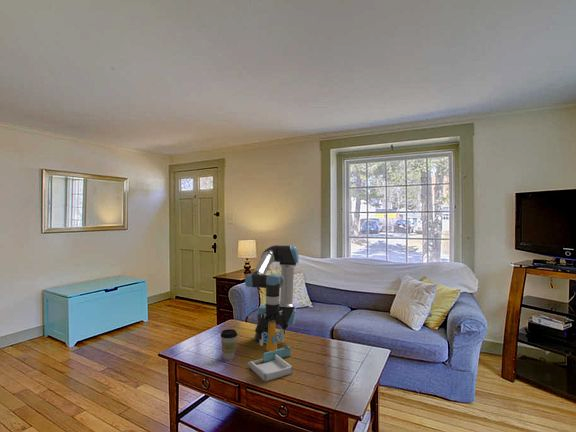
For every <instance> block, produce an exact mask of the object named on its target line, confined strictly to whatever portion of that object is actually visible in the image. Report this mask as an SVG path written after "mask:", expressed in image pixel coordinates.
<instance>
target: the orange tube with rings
mask: <svg viewBox="0 0 576 432" xmlns="http://www.w3.org/2000/svg"><path fill="white" fill-rule="evenodd" d="M276 326H277V325H276V321H270V322H269V323H268V333H266V332H263V334H266V335H264V336H263V342H264V343H263V344H266V345H265V350H266V351H267V352H269V351H275V350H277V349H278V343H281V342H283V341H282V336H281V333H280V331H276ZM265 336H267V338H266V339H265V338H264V337H265ZM276 337H277V338H276ZM280 337H281V340H280ZM264 340H267V341H264Z"/></svg>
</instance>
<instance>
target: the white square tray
mask: <svg viewBox="0 0 576 432" xmlns="http://www.w3.org/2000/svg"><path fill="white" fill-rule="evenodd" d="M262 362H263V358H260V359H256V360H250V361H249V362H246V363H247V366H249V368H250V370H252V371H253V372H254V373H255V375H257V376H258V377H259V378H260V379H261V380H262V381H263V382H265V383H266V382H270V381H272V380H275V379H276V380H277V379H279V378H283V377H286V376H290V375H292V373H293V372H294V367H293V366H292V365H291V364H290V363H289V362H287V361H285V360H284V358H280V357H279V356H278V355H275V360H272V361H268V362H263V363H262ZM293 374H294V373H293Z"/></svg>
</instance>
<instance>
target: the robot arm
mask: <svg viewBox="0 0 576 432" xmlns="http://www.w3.org/2000/svg"><path fill="white" fill-rule="evenodd" d="M299 258H300V257H299V251H298V247H297V246H295V245H277V244H276V245H272V246H270V247H268V248H266V249H264V251H262V252H261V255H260V259H259V261H258V263H257V265H256V266H255V269H254V270H253V272H252V273H248V274H246V275H245V278H244V284H245V286H246V287H247V288H259V289H260V288H262V289H265V304H262V305H259V306H258V308H257V313H256V314H257V319H256V320H257V321H256V322H257V325H256V327H255V330H254V332H255V334H254V341H255V342H257V343H258V344H259V346H261V347H263V346H264V344H265V343H264V342H263V336H264V335H266V334H263V332H266V333H268V323H269V322H270V321H276V326H280V328H279V332H280V333H281V336H282V341H281V342H284V340H285V339H284V336H285V335H286V334H285V333H286V330H287V328H288V327H293V326H294V325H295V322H296V319H297V318H296V317H297V313H298V312H297V311H298V310H297V308H296V307H295V305H294V302H293V299H294V298H293V296H294V275H295V273H294V272H295V271H294V270H295V267H296V266H297V264H298V263H299V262H300V261H299ZM273 263H279V266H280V267H281V271H280V272H281V273H280V274H279V273H278V274H275V273H270V274H267V273H268V271H269V268H270V267H271V264H273ZM264 338H265V339H266V338H267V336H265V337H264ZM276 338H278V336H277V337H276ZM280 340H281V337H280V338H279V341H280ZM264 341H267V340H264Z"/></svg>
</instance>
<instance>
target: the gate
mask: <svg viewBox="0 0 576 432" xmlns="http://www.w3.org/2000/svg"><path fill="white" fill-rule="evenodd" d="M291 349H292V348H291V346H289V345H284V347H282V348H279V349H278V348H277V350H275V351H266V352H263V354H262V356H263V357H262V359H263V363H266V362H270V361H274V360H275V355H278V356H279V357H280V358H282V359H284V358H286V357H290V356H291Z"/></svg>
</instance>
